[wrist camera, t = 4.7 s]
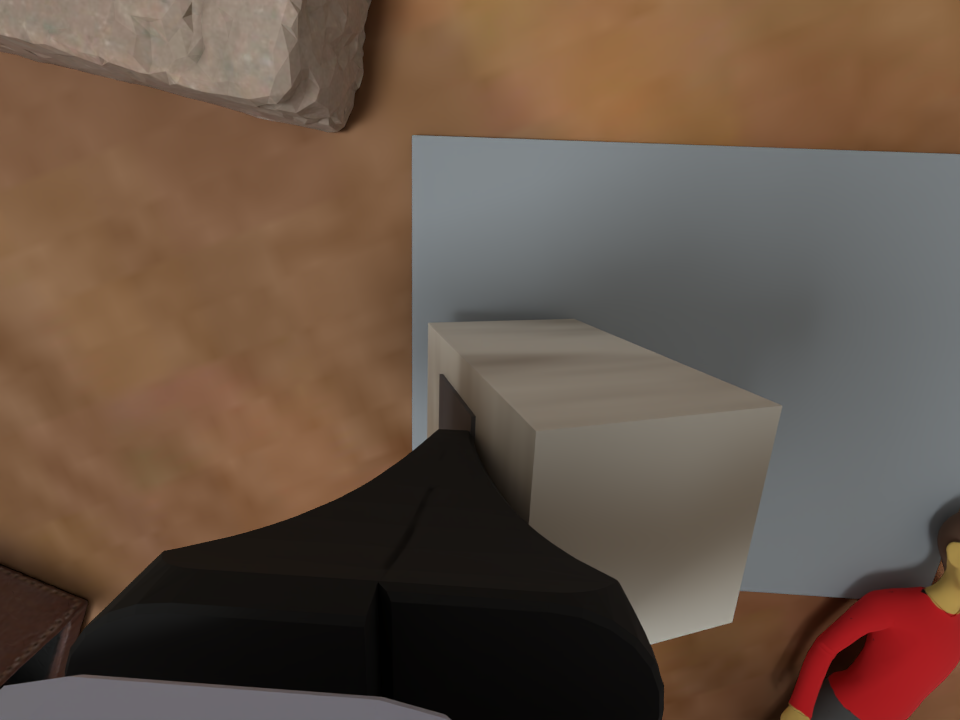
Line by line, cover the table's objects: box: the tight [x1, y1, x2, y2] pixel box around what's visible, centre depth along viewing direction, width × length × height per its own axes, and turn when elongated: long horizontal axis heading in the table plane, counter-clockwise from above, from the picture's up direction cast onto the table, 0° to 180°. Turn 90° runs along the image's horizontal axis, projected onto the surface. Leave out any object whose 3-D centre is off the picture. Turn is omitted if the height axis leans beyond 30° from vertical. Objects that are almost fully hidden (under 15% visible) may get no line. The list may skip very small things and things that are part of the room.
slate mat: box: [412, 135, 960, 599], centre depth 17 cm, size 16×20×1 cm
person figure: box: [780, 512, 960, 720], centre depth 18 cm, size 5×4×18 cm
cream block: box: [427, 319, 782, 645], centre depth 12 cm, size 5×5×8 cm
